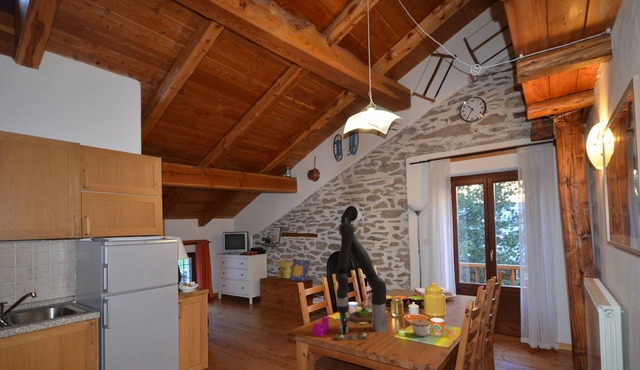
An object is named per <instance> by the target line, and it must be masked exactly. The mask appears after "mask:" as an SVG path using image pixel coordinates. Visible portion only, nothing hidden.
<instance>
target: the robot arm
mask: <svg viewBox="0 0 640 370" xmlns="http://www.w3.org/2000/svg"><path fill="white" fill-rule="evenodd" d="M338 232H339V234H340V236H341V244H340V245H341V246H340V249H339V254H338V259H337V267H336V271H335V275H334V278H335V281H336V283H337V289H336V313H339V321H340V324H342V328H343V334H347V333H346V327H347V325H348V324H347V321H348V320H347V318H348V317H347V314H348V312H349V311H350V309H349V308H350V306H349V305H350V304H349V296H348V295H349V294H348V288H349V277H348V276H347V270H348V269H349V262H350V254H351V255H352V256H353V257H352V258H354V260H355V262H356V264H357V266H358V267H359V269H360V271H362V273H363V275H364V277H365V279H366V281H367V283H368V286H369V288H370V289H371V290H372V298H370V299H371V300H370V301H371V305H370V306H371V312H372V322H371V327H372V328H371V329H372V331H373V332H376V333H383V332H387V331H388V315H387V308H386V303H387V302H386V301H387V283H386V282H385V281H384V280H382V279H381V278H380V277H379V276H378V274H377V272H376V270H375V269H374V266H373V263H372V259H371V257H370V255H369V254H368V252H367V250H366V249H365V247H364V245H362V243H361V242H360V241H359V240H358V238H357V236H356V234H355V226H354V225H353V224H352V223H350V222H342V223H340V225H339V227H338ZM344 324H345V325H344Z"/></svg>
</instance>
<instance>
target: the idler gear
mask: <svg viewBox="0 0 640 370" xmlns="http://www.w3.org/2000/svg"><path fill="white" fill-rule="evenodd" d="M344 325H345V324H344ZM338 328H339V329H338V332H339V333H340V334H342V335H344V333H343V328H342V323H340V325H339V326H338ZM339 333H338V334H339ZM348 333H349V325H348V324H347V327H346V333H345V334H348Z"/></svg>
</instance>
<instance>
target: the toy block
mask: <svg viewBox="0 0 640 370" xmlns="http://www.w3.org/2000/svg"><path fill="white" fill-rule="evenodd" d="M329 324H330V323H329V317H326V316H325V317H324V316H323V317H322V318H321V322H320V323H318V322H314V323H312V336H314V337H320V336H321V338H322V337H324V336H325V335H327V334H328V333H329V332H330V326H329Z"/></svg>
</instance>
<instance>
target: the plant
mask: <svg viewBox="0 0 640 370" xmlns="http://www.w3.org/2000/svg"><path fill="white" fill-rule="evenodd" d="M358 306H359V308H358V309H357V310H355V311H353V312H351V313H349V315H348V319H349V320H350V322H353V323H356V324H361V322H365V323H369V324H370V323H371V324H372V311H370V310H369V309H372V306H371V305H365V307H364V304H363V303H360V302H359V304H358ZM360 307H361V308H360ZM367 307H369V308H368V309H367Z"/></svg>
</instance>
